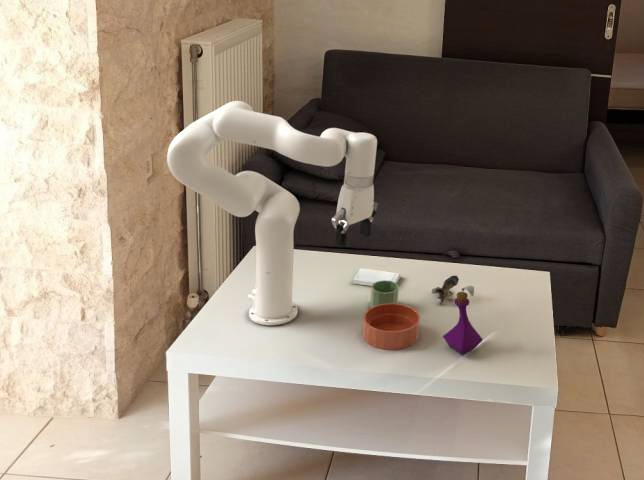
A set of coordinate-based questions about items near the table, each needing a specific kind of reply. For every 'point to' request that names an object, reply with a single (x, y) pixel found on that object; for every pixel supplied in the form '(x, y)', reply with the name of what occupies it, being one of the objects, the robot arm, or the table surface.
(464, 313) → the perfume bottle
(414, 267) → the table surface
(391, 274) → the hard drive
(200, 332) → the table surface
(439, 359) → the table surface
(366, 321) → the terracotta bowl
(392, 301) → the green faceted cup
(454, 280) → the eagle figurine
